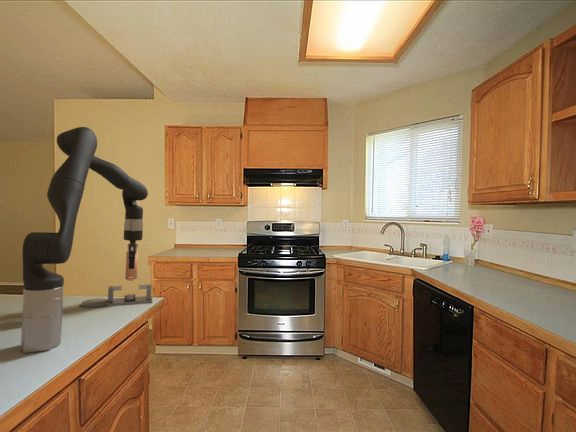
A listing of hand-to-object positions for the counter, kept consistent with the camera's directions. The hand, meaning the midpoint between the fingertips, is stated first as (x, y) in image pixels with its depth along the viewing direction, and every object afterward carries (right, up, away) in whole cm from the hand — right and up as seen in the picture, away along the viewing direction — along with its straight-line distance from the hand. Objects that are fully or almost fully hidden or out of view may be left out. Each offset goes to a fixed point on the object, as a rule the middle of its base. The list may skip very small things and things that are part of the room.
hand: (131, 267), depth 137 cm
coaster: (-13, -15, -6) cm, 20 cm away
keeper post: (-1, -15, 0) cm, 15 cm away
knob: (0, -5, 0) cm, 5 cm away
